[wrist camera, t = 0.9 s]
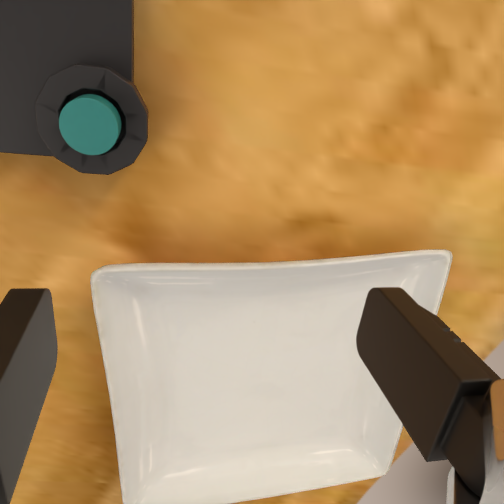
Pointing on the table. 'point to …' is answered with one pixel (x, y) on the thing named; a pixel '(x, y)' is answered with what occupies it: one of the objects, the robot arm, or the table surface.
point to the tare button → (90, 124)
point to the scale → (68, 76)
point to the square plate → (249, 373)
